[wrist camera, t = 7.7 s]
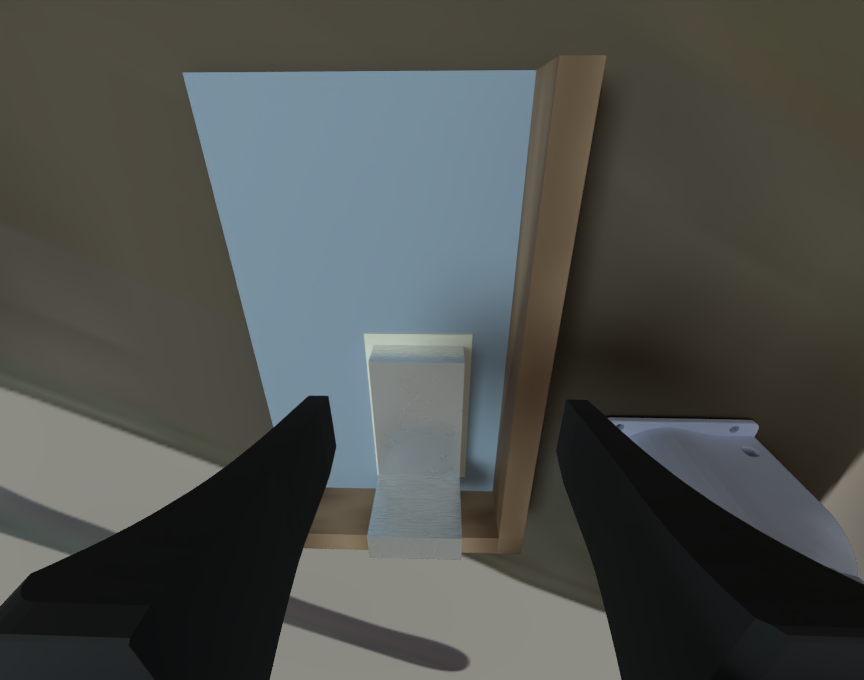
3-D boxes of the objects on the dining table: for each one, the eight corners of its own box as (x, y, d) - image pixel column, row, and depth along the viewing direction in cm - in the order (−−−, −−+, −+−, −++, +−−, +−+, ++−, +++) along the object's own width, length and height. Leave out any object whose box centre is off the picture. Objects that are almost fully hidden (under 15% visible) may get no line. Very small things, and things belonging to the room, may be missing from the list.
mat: (571, 71, 16) (575, 69, 15) (511, 501, 28) (512, 507, 28) (188, 73, 16) (180, 72, 16) (294, 496, 29) (291, 502, 28)
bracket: (457, 473, 26) (460, 559, 21) (384, 472, 27) (369, 557, 21) (463, 346, 22) (469, 415, 16) (373, 344, 22) (351, 413, 17)
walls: (571, 71, 16) (606, 55, 12) (511, 501, 28) (520, 553, 25) (188, 73, 16) (118, 59, 13) (294, 496, 29) (273, 547, 25)
